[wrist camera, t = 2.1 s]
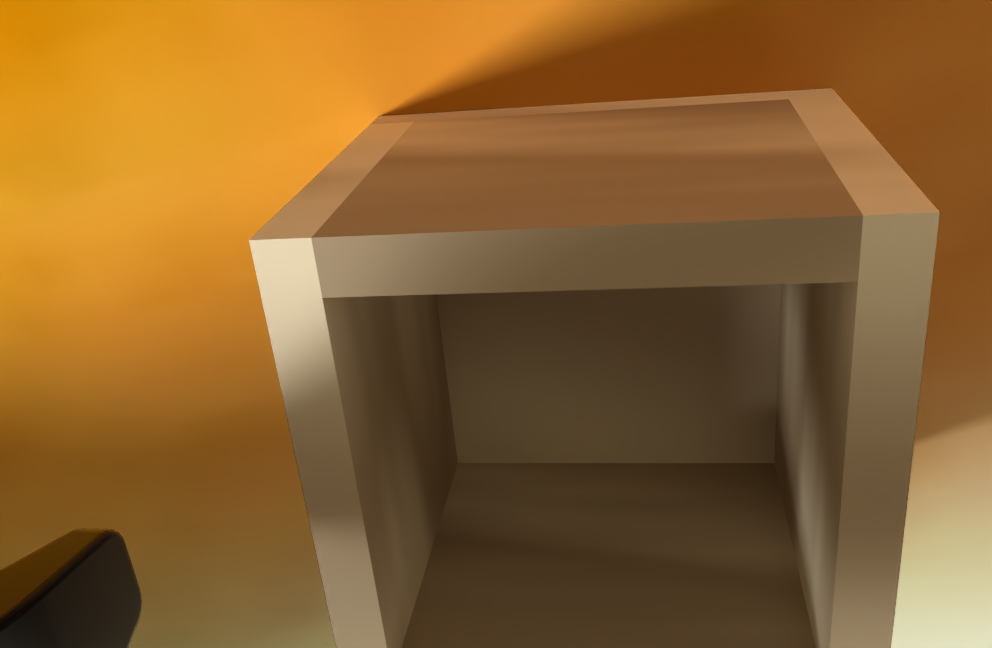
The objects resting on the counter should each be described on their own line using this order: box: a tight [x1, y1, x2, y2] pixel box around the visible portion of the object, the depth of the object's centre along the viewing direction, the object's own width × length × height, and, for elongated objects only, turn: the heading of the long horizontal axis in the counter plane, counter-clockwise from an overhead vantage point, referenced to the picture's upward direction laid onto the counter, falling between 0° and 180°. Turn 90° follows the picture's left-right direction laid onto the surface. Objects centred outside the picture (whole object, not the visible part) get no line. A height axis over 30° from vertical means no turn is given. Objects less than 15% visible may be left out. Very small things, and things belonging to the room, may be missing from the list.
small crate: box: [249, 88, 940, 648], centre depth 12 cm, size 6×6×5 cm
